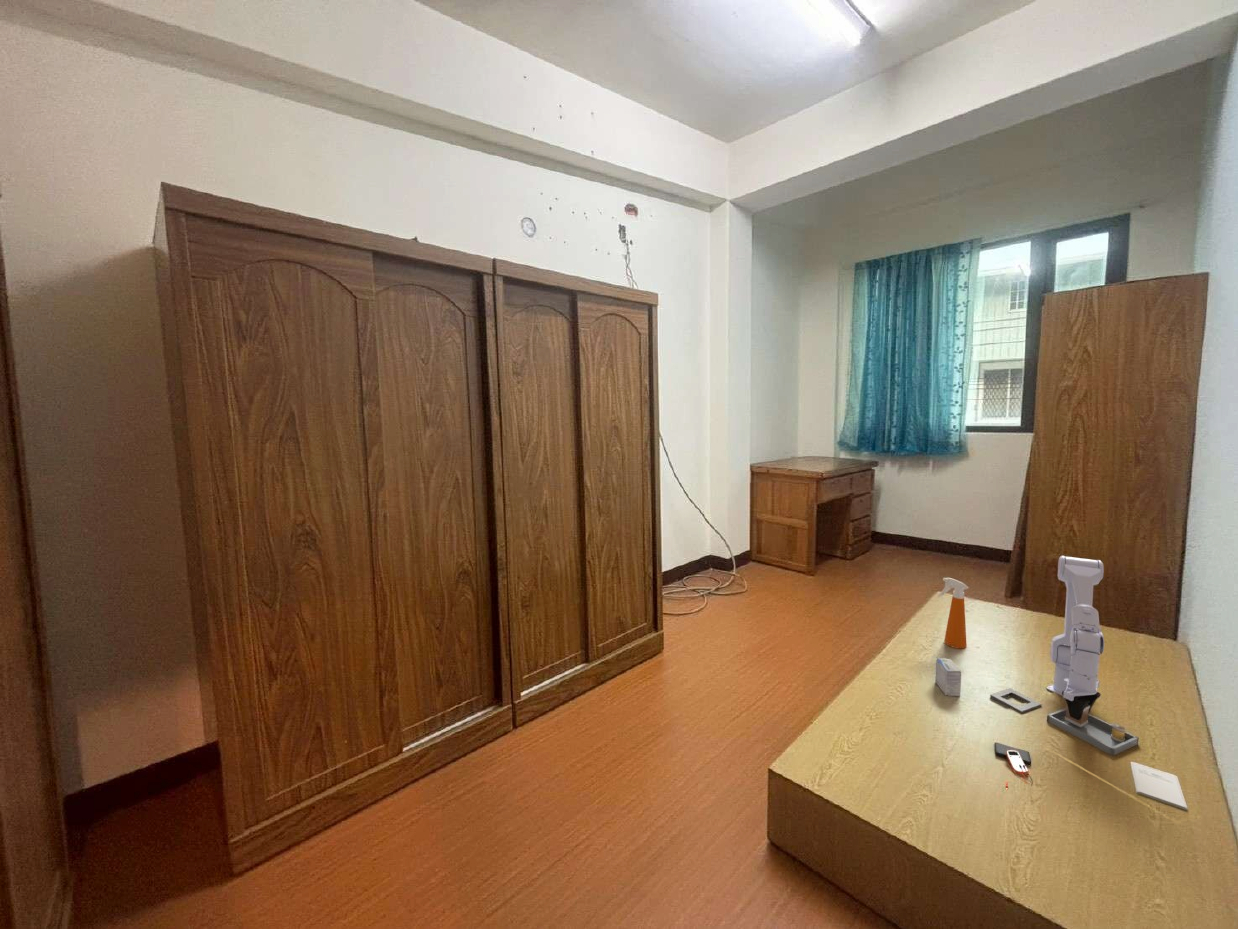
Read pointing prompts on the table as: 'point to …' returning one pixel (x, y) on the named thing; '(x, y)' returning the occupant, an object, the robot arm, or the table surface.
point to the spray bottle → (955, 614)
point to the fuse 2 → (1118, 732)
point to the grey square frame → (1010, 692)
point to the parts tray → (1093, 732)
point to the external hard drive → (1158, 785)
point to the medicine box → (948, 677)
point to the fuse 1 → (1083, 718)
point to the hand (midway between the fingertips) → (1078, 715)
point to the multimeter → (1014, 758)
